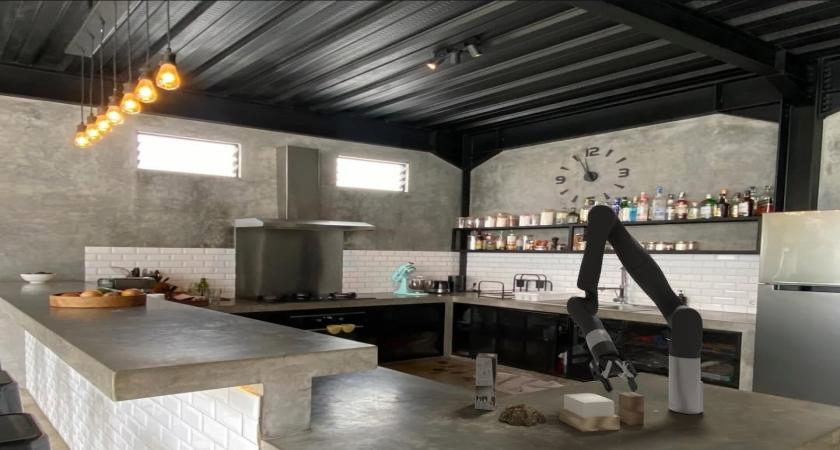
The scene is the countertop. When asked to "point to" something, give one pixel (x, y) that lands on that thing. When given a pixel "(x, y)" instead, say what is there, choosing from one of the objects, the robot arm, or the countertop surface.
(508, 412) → the bread roll
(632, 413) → the walnut block
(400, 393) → the countertop surface
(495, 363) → the coffee box
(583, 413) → the tower top
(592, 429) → the tower base
